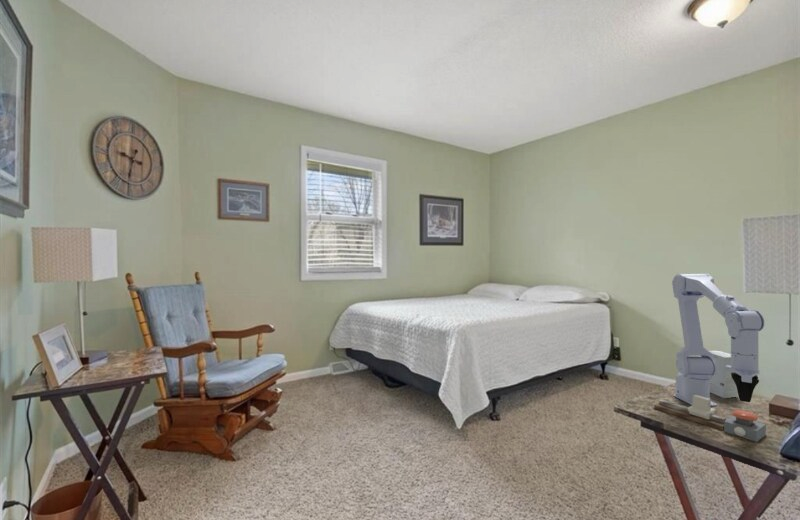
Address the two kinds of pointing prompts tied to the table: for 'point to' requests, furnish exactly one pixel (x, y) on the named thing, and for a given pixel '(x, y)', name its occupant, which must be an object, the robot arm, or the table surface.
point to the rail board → (684, 413)
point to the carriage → (701, 407)
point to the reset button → (744, 417)
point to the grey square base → (745, 429)
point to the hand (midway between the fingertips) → (744, 400)
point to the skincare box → (723, 376)
